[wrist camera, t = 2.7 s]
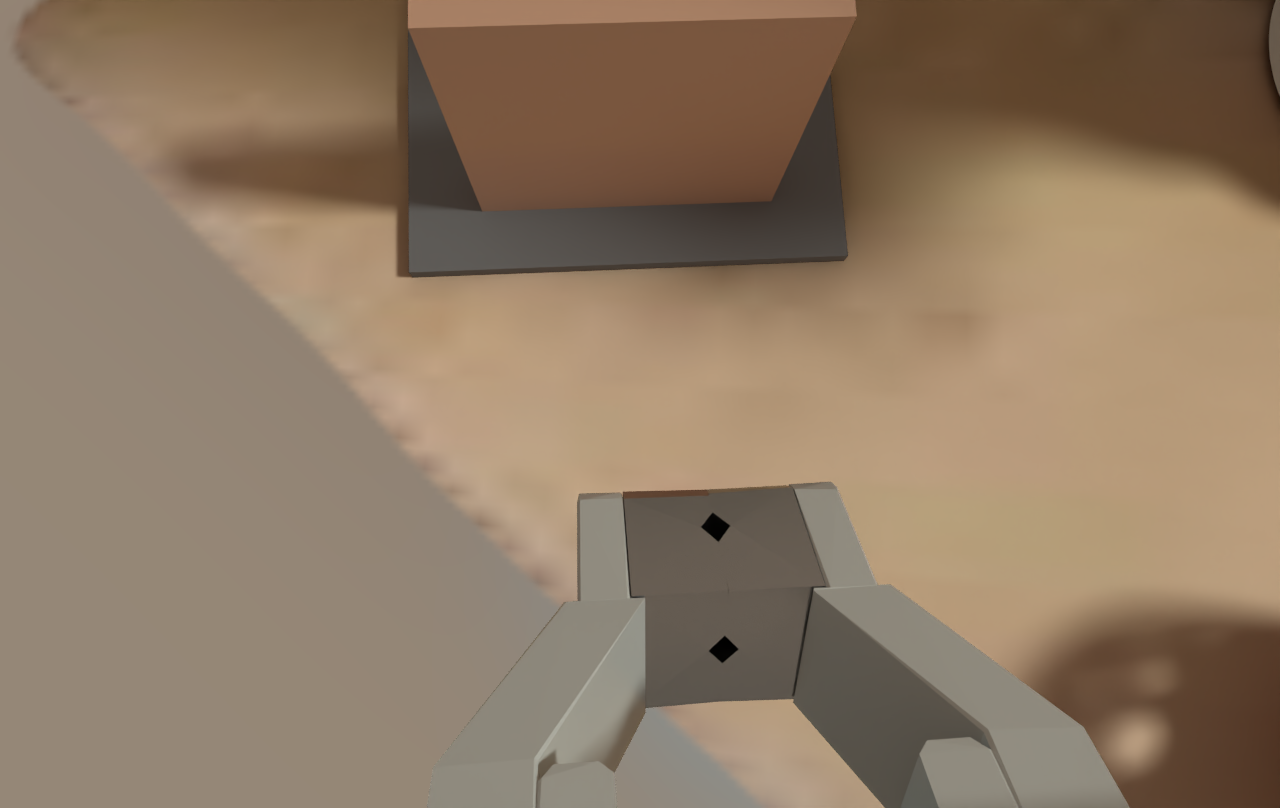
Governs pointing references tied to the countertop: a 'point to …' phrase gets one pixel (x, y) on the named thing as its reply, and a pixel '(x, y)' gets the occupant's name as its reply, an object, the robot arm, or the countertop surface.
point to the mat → (613, 213)
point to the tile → (627, 95)
